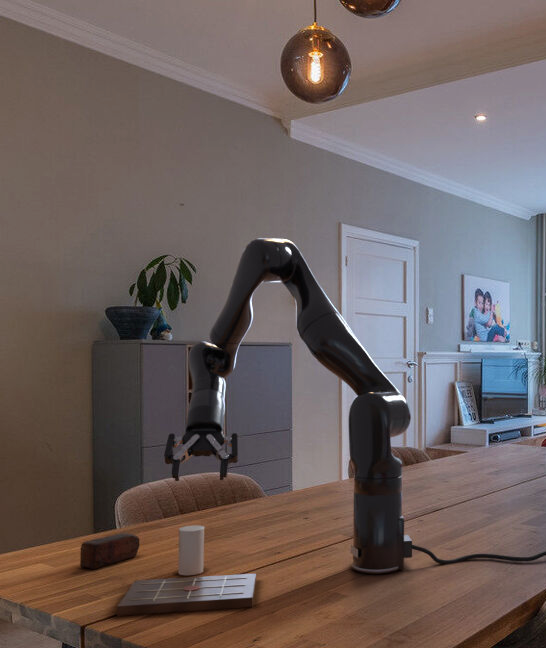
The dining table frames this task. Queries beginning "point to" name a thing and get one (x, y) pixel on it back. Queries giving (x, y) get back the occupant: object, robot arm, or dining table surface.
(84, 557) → the brick
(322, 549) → the dining table surface
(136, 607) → the board
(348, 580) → the dining table surface
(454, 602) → the dining table surface
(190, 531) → the white upright cylinder
